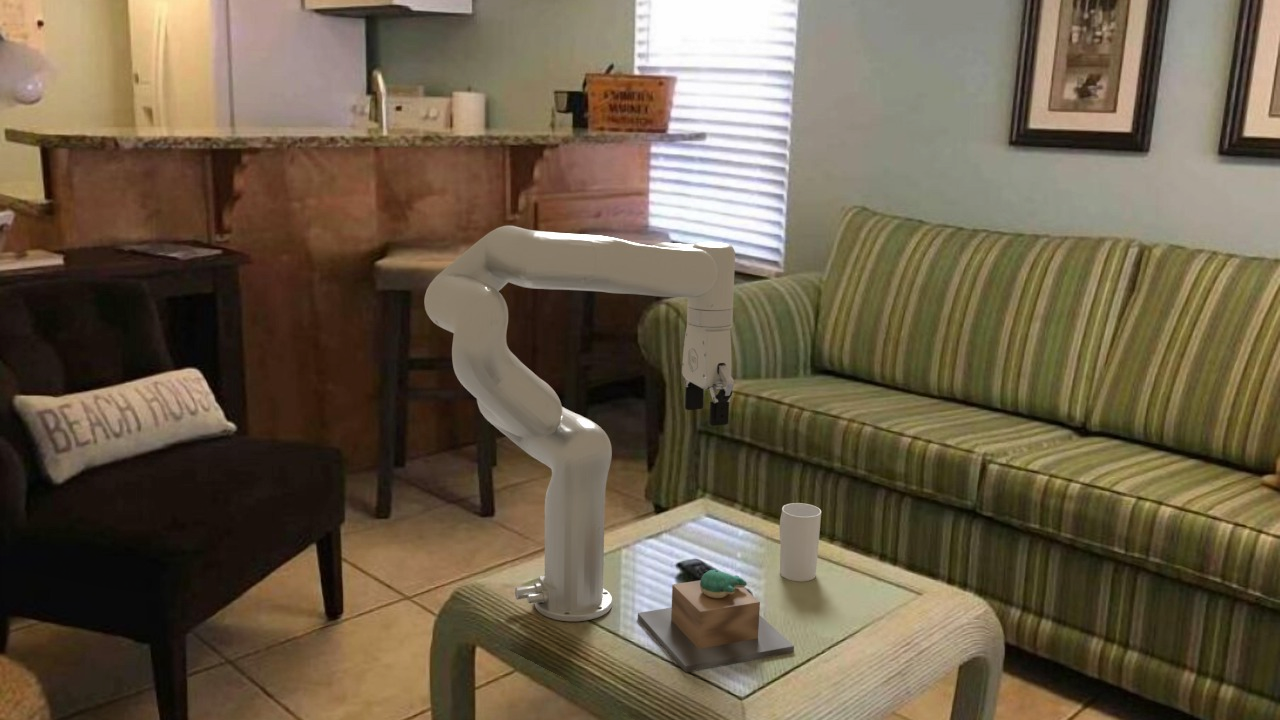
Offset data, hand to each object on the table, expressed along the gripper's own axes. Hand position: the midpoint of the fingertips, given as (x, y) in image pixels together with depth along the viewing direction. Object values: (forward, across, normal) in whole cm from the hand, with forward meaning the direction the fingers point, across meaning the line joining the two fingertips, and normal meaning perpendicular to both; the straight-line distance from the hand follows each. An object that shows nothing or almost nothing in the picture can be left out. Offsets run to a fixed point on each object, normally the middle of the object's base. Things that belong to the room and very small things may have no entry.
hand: (706, 416), depth 188 cm
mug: (+29, +5, +16) cm, 33 cm away
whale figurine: (+22, +22, -7) cm, 31 cm away
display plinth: (+28, +22, -8) cm, 37 cm away
